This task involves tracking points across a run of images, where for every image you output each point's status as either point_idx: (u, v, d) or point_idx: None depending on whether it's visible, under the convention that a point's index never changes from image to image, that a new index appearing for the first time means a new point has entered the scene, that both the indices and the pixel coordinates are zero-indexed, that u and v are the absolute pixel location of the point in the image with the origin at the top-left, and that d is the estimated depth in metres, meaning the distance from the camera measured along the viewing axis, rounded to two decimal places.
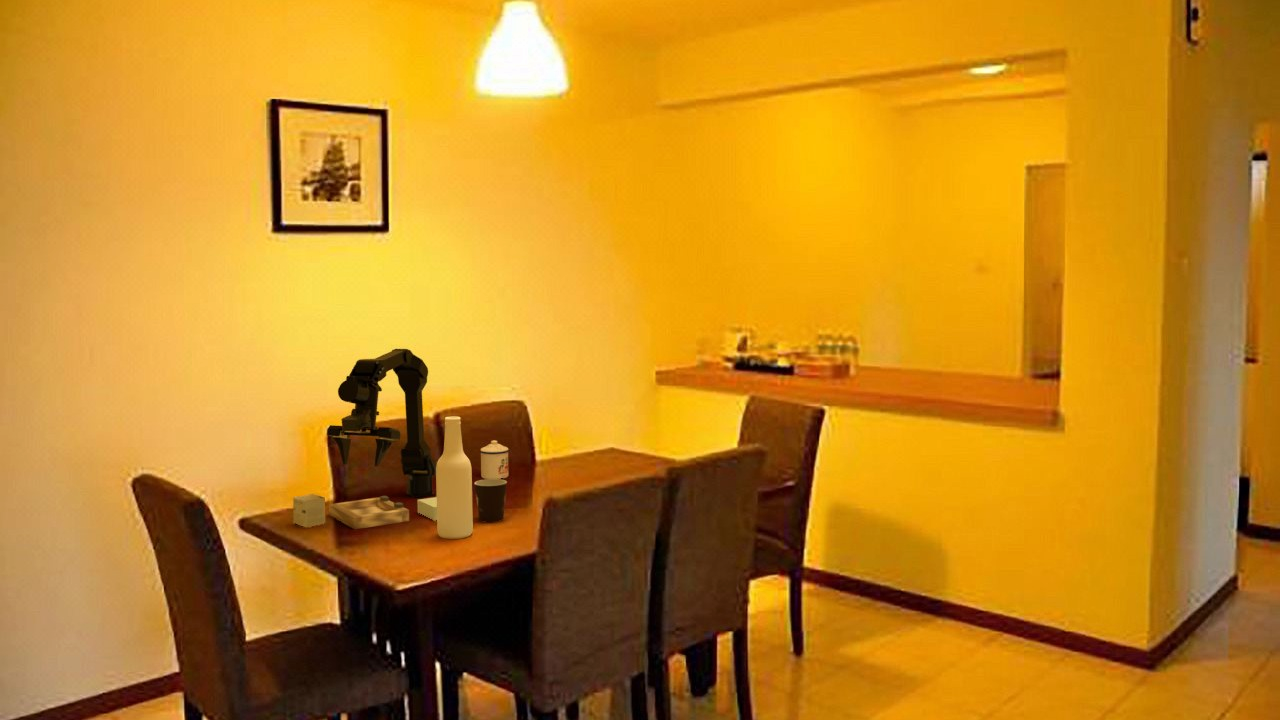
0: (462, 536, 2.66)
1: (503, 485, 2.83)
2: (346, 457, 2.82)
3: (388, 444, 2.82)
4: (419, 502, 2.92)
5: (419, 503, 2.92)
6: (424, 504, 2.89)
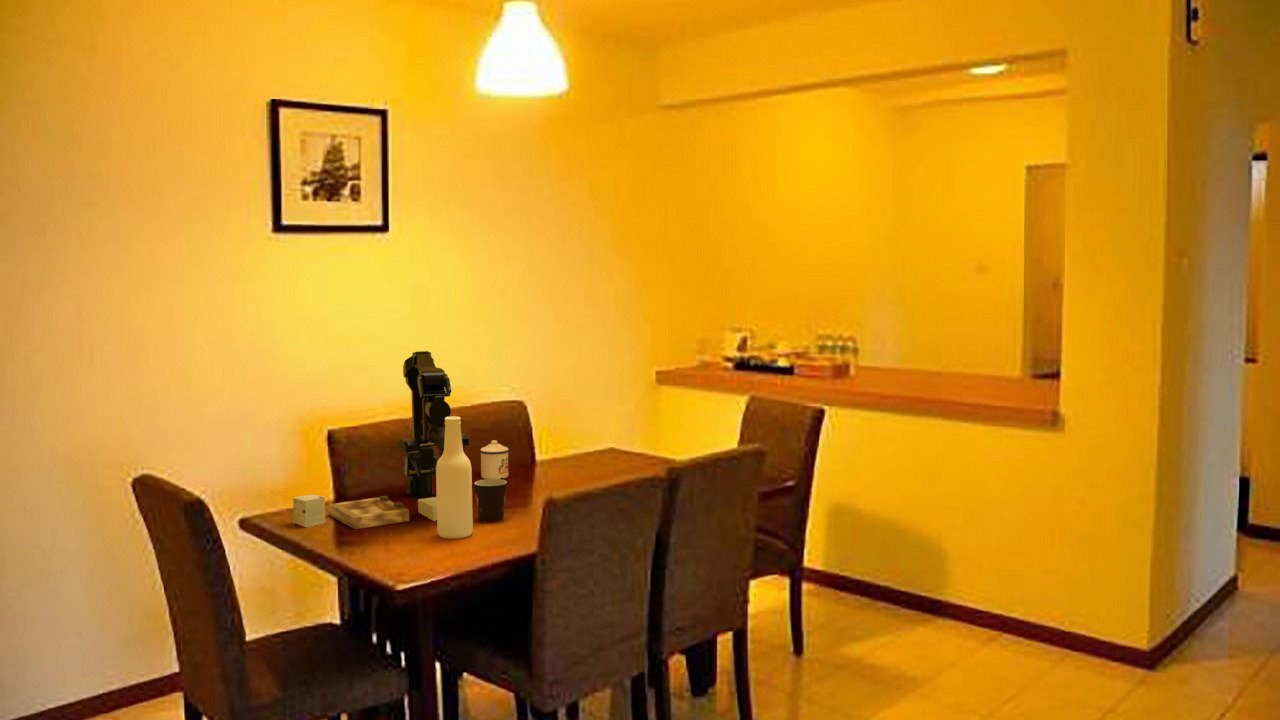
0: (462, 536, 2.66)
1: (503, 485, 2.83)
2: None
3: None
4: (419, 502, 2.92)
5: (419, 503, 2.92)
6: (424, 504, 2.89)
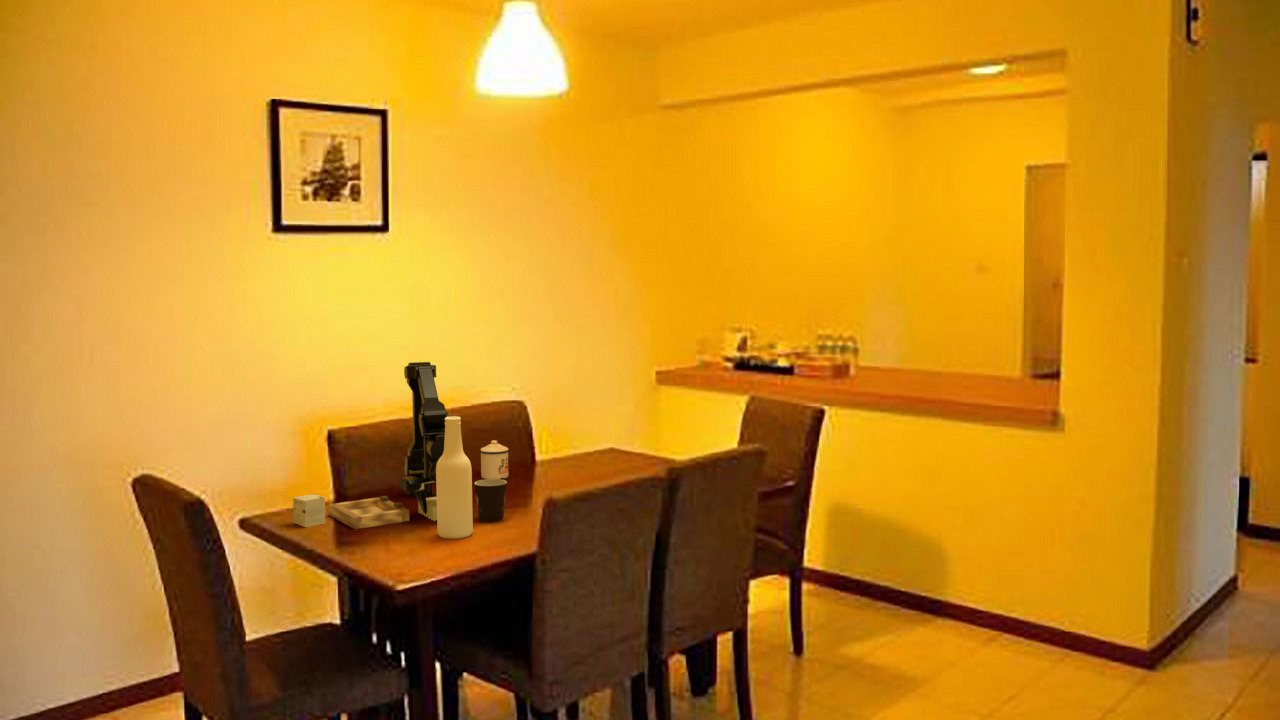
0: (462, 536, 2.66)
1: (503, 485, 2.83)
2: None
3: None
4: None
5: None
6: None
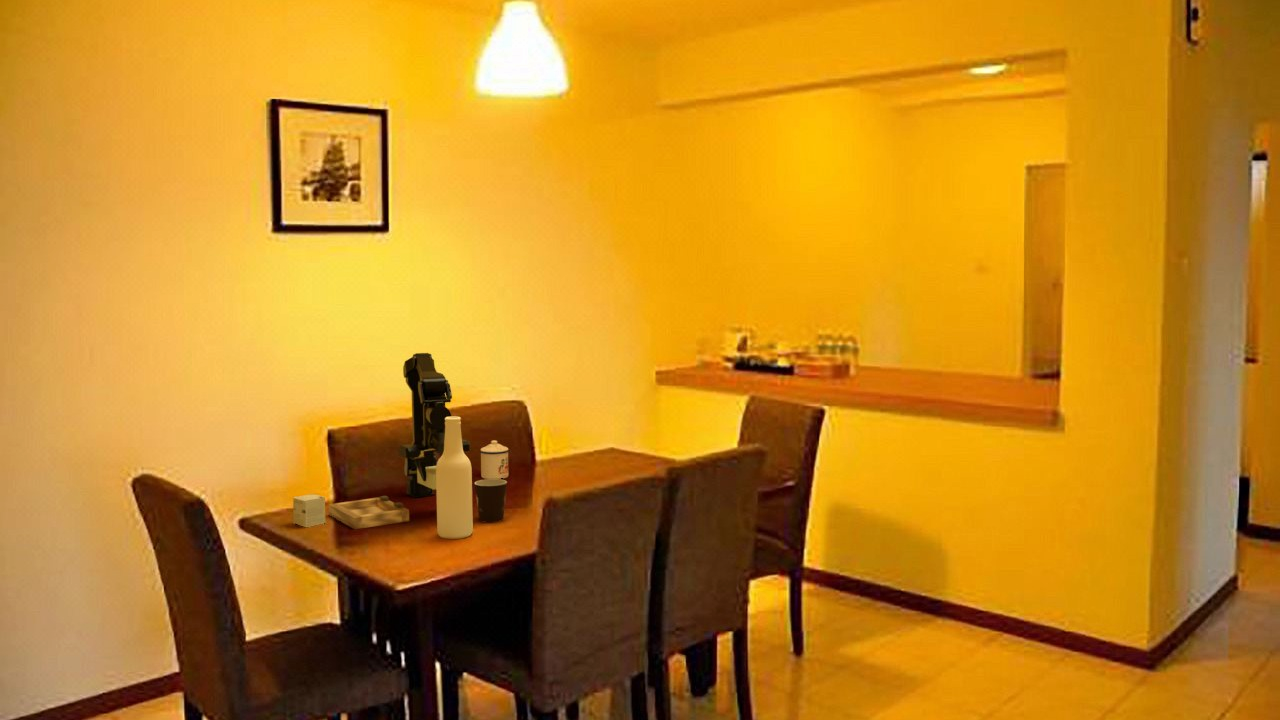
0: (462, 536, 2.66)
1: (503, 485, 2.83)
2: None
3: None
4: None
5: None
6: None
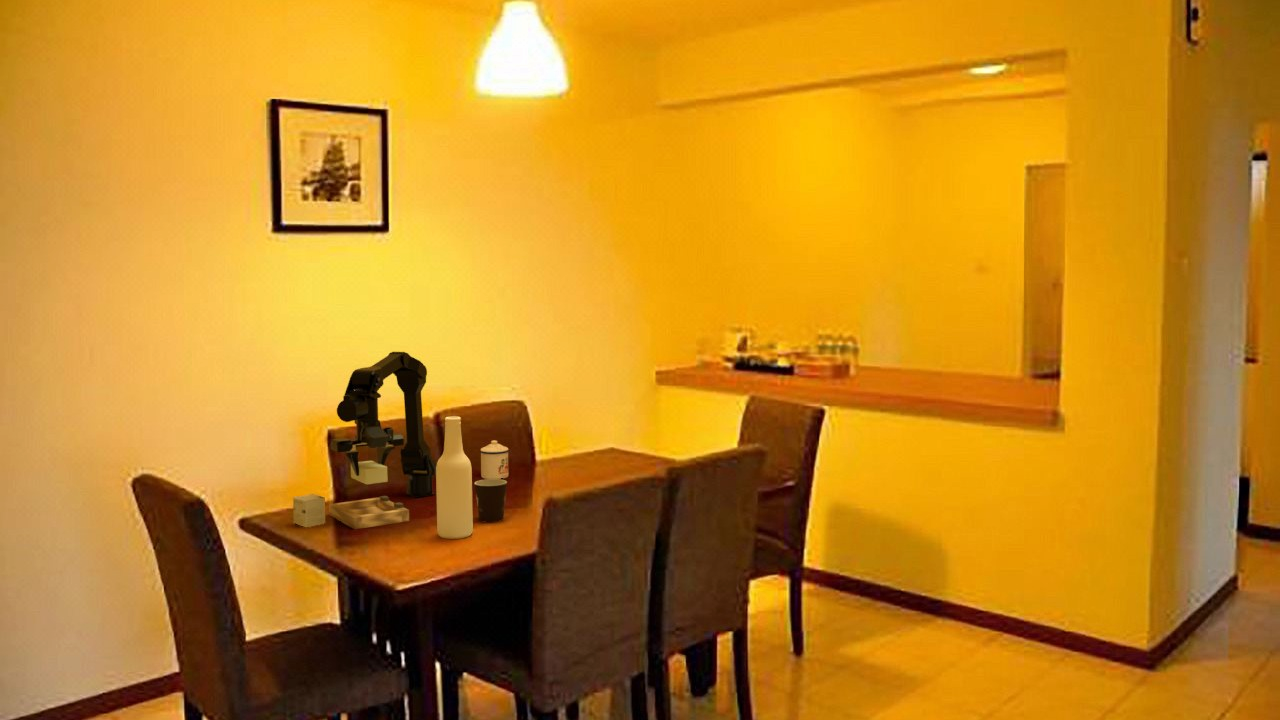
0: (462, 536, 2.66)
1: (503, 485, 2.83)
2: None
3: None
4: None
5: None
6: None
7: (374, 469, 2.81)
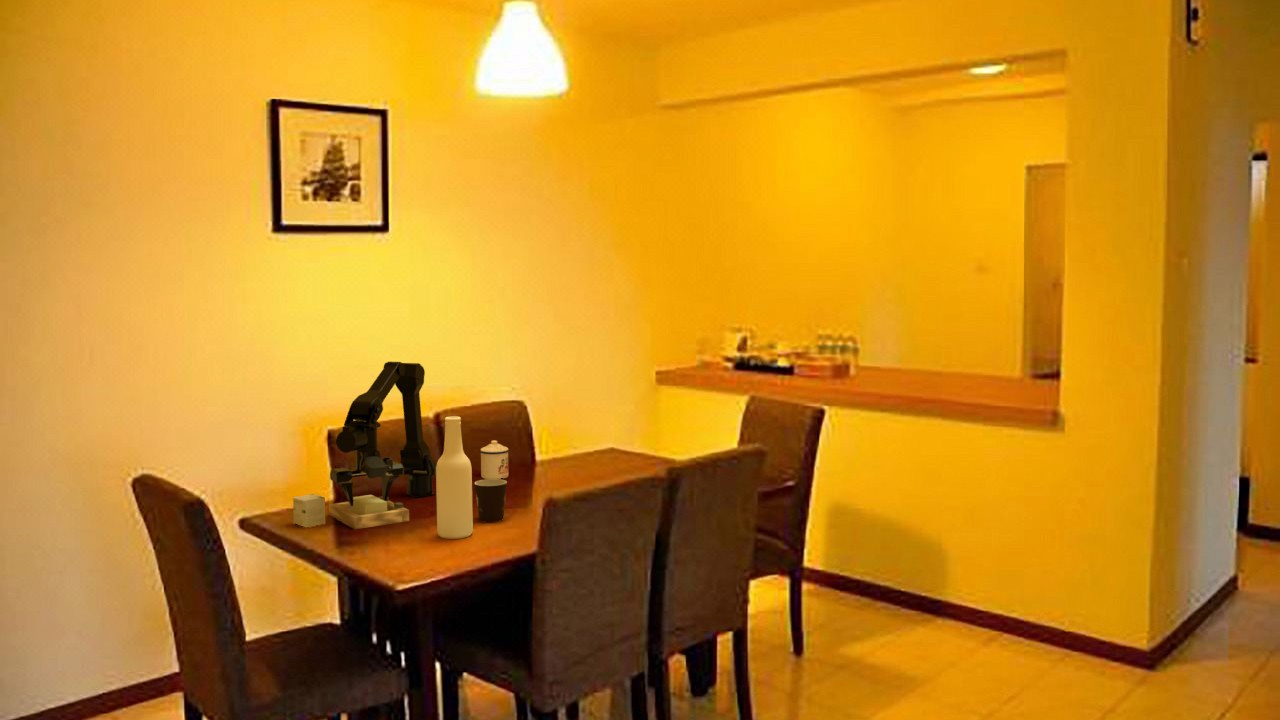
0: (462, 536, 2.66)
1: (503, 485, 2.83)
2: None
3: None
4: None
5: None
6: (356, 502, 2.86)
7: (374, 505, 2.82)
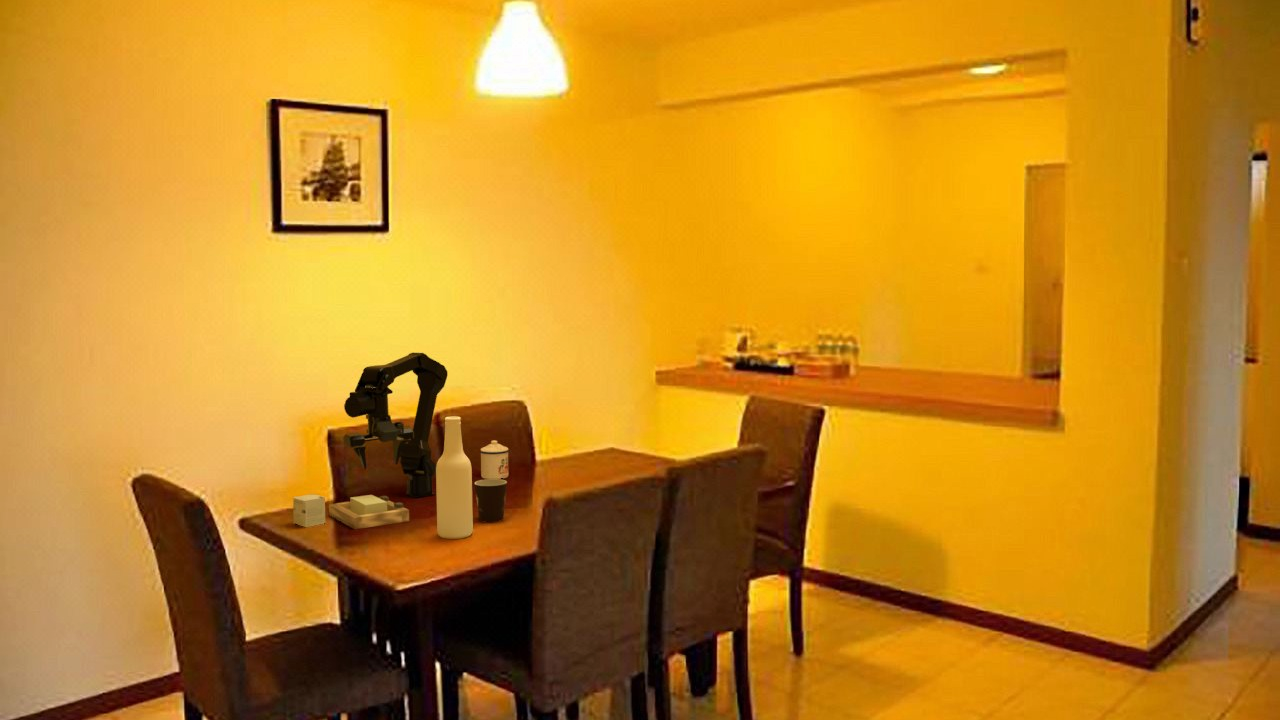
0: (462, 536, 2.66)
1: (503, 485, 2.83)
2: None
3: None
4: (352, 500, 2.89)
5: (352, 501, 2.89)
6: (356, 502, 2.86)
7: (374, 505, 2.82)
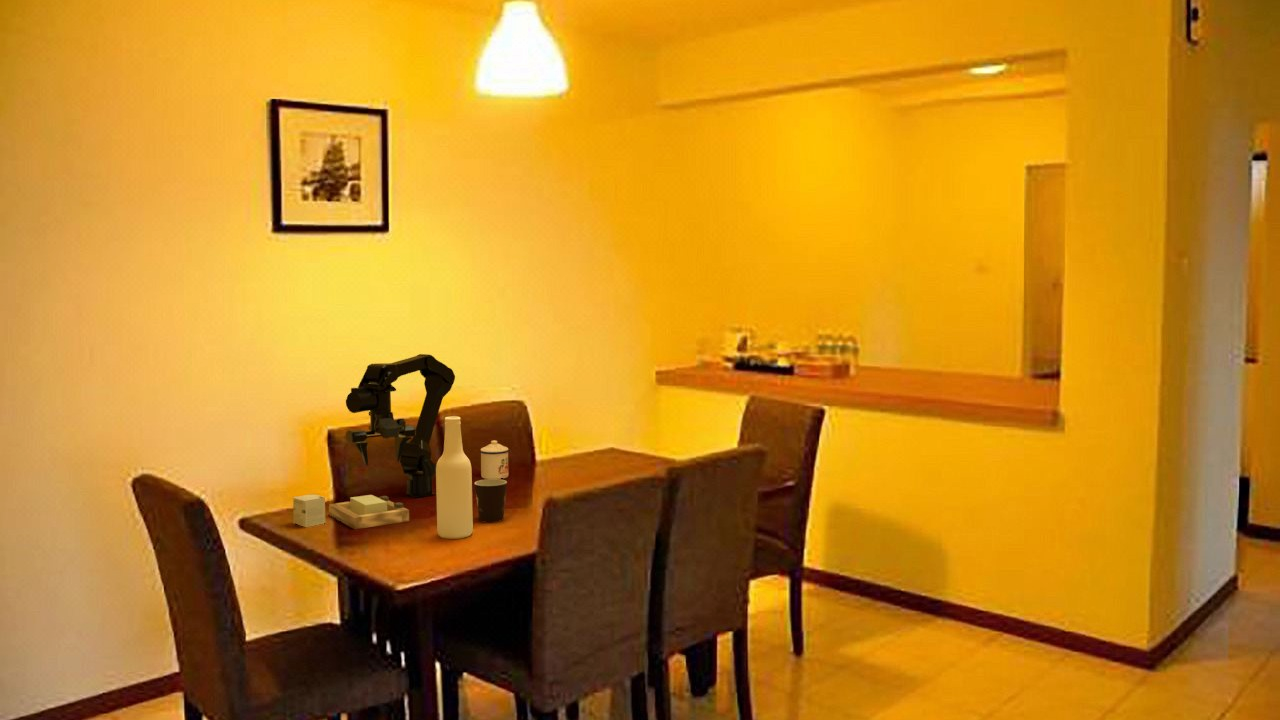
0: (462, 536, 2.66)
1: (503, 485, 2.83)
2: None
3: None
4: (352, 500, 2.89)
5: (352, 501, 2.89)
6: (356, 502, 2.86)
7: (374, 505, 2.82)
